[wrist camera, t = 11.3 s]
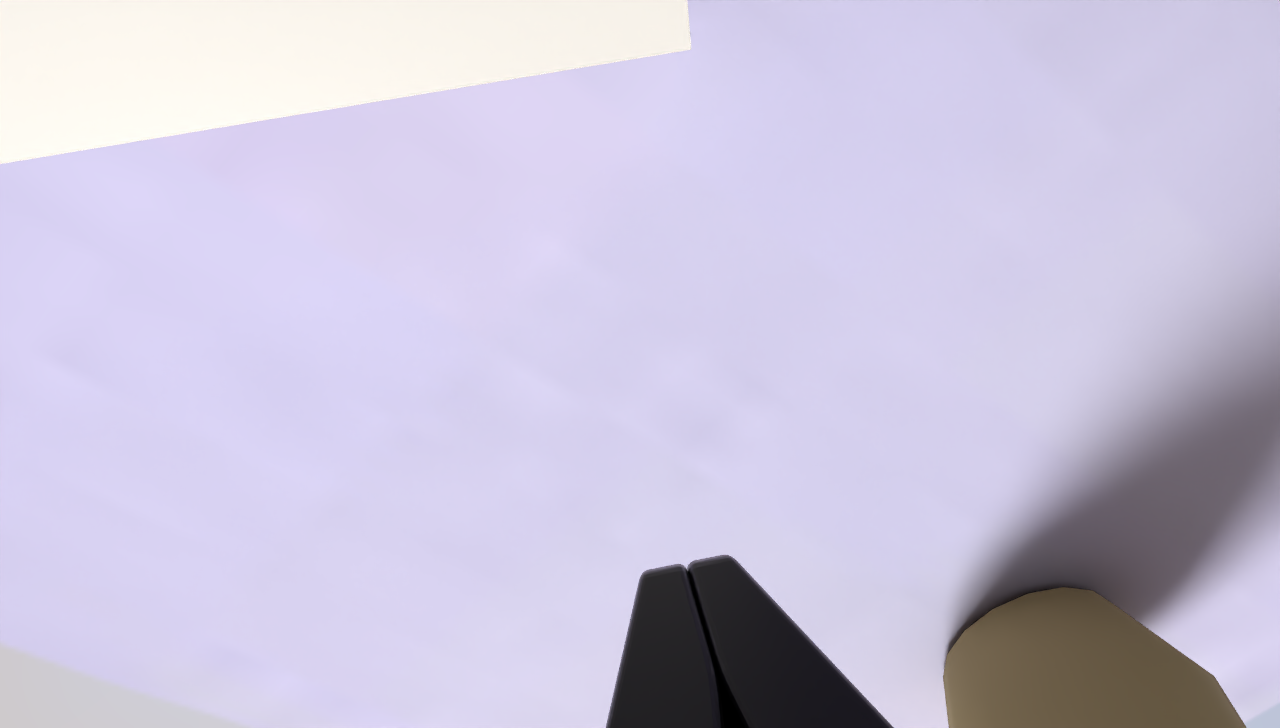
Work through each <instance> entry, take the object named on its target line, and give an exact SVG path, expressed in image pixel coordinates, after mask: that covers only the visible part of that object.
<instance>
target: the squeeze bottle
mask: <svg viewBox="0 0 1280 728" xmlns="http://www.w3.org/2000/svg"><path fill="white" fill-rule="evenodd" d="M943 680H944V689H945V698H946V707H947V715H948V724H949V728H1246V726H1245V725H1244V723H1243V721H1242V720H1241V718H1240V717H1239V715H1238V713H1237V712H1236V710H1235V709H1234V707H1233V705H1232V704H1231V702H1230V701H1229V699H1228V697H1227V696H1226V694H1225V693H1224V691H1223V689H1222V688H1221V686H1220V685H1219V683H1218V681H1217V680H1216V678H1215V677H1214V676H1213V675H1212V674H1210V673H1209V672H1208V671H1206V670H1205V669H1203V668H1202V667H1201V666H1199V665H1198V664H1196V663H1195V662H1194V661H1192V660H1191V659H1189V658H1188V657H1187V656H1185V655H1184V654H1182V653H1181V652H1180V651H1178V650H1177V649H1175V648H1174V647H1173V646H1171V645H1170V644H1168V643H1167V642H1166V641H1164V640H1163V639H1161V638H1160V637H1159V636H1157V635H1156V634H1155V633H1153V632H1152V631H1150V630H1149V629H1148V628H1146V627H1145V626H1143V625H1142V624H1141V623H1139V622H1138V621H1136V620H1135V619H1134V618H1132V617H1131V616H1129V615H1128V614H1127V613H1125V612H1124V611H1122V610H1121V609H1120V608H1118V607H1117V606H1115V605H1114V604H1113V603H1111V602H1110V601H1108V600H1107V599H1105V598H1104V597H1102V596H1100V595H1099V594H1097V593H1096V592H1094V591H1093V590H1084V589H1076V588H1067V587H1061V588H1055V589H1050V590H1044V591H1039V592H1034V593H1028V594H1026V595H1023V596H1021V597H1019V598H1017V599H1014V600H1012V601H1010V602H1008V603H1005V604H1003V605H1001V606H999V607H996V608H994V609H992V610H991V611H989V612H988V613H987V614H986V615H984V616H983V617H982V618H980V619H979V620H978V621H976V622H975V623H974V624H972V625H971V626H970V627H969V628H967V629H966V630H965V631H964V632H963V633H962V635H961V636H960V637H959V639H958V640H957V641H956V643H955V644H954V646H953V647H952V648H951V650H950V651H949V653H948V654H947V657H946V663H945V669H944V675H943Z"/></svg>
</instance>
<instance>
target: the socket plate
mask: <svg viewBox="0 0 1280 728" xmlns="http://www.w3.org/2000/svg"><path fill="white" fill-rule="evenodd" d="M685 50H691V41H690V29H689V16H688V4H687V0H0V164H3V163H9V162H15V161H21V160H27V159H33V158H39V157H45V156H51V155H57V154H63V153H69V152H75V151H81V150H87V149H93V148H99V147H105V146H111V145H118V144H124V143H130V142H136V141H142V140H148V139H154V138H160V137H166V136H172V135H178V134H184V133H190V132H196V131H202V130H208V129H214V128H220V127H226V126H232V125H238V124H244V123H250V122H256V121H262V120H268V119H274V118H280V117H287V116H293V115H299V114H305V113H311V112H317V111H323V110H329V109H335V108H341V107H347V106H353V105H359V104H365V103H371V102H377V101H383V100H389V99H395V98H401V97H407V96H413V95H419V94H425V93H431V92H437V91H443V90H449V89H456V88H462V87H468V86H474V85H480V84H486V83H492V82H498V81H504V80H510V79H516V78H522V77H528V76H534V75H540V74H546V73H552V72H558V71H564V70H570V69H576V68H582V67H588V66H594V65H600V64H606V63H612V62H618V61H625V60H631V59H637V58H643V57H649V56H655V55H661V54H667V53H673V52H679V51H685Z"/></svg>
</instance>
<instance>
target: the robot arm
mask: <svg viewBox="0 0 1280 728" xmlns="http://www.w3.org/2000/svg"><path fill="white" fill-rule="evenodd" d="M606 728H893V727H892V725H891V724H890V723H889V722H888V721H887V720H886V719H885V718H884V717H883V716H882V715H881V714H880V713H879V712H878V711H877V710H876V708H875V707H874V706H873V705H872V704H871V703H870V702H869V701H868V700H867V699H866V698H865V697H864V696H863V695H862V694H861V693H860V691H859V690H858V689H857V688H856V687H855V686H854V685H853V684H852V683H851V682H850V681H849V680H848V679H847V678H846V677H845V675H844V674H843V673H842V672H841V671H840V670H839V669H838V668H837V667H836V666H835V665H834V664H833V663H832V662H831V661H830V660H829V658H828V657H827V656H826V655H825V654H824V653H823V652H822V651H821V650H820V649H819V648H818V647H817V646H816V645H815V644H814V642H813V641H812V640H811V639H810V638H809V637H808V636H807V635H806V634H805V633H804V632H803V631H802V630H801V629H800V628H799V627H798V625H797V624H796V623H795V622H794V621H793V620H792V619H791V618H790V617H789V616H788V615H787V614H786V613H785V612H784V611H783V610H782V608H781V607H780V606H779V605H778V604H777V603H776V602H775V601H774V600H773V599H772V598H771V597H770V596H769V595H768V594H767V592H766V591H765V590H764V589H763V588H762V587H761V586H760V585H759V584H758V583H757V582H756V581H755V580H754V579H753V578H752V577H751V575H750V574H749V573H748V572H747V571H746V570H745V569H744V568H743V567H742V566H741V565H740V564H739V563H738V562H737V561H736V560H735V559H734V558H733V557H731V556H729V555H720V556H715V557H710V558H705V559H700V560H695V561H692V562H691V563H690V564H689V565H688V567H687V569H686V568H685V567H684V566H683V565H681V564H675V565H670V566H665V567H660V568H655V569H650V570H647V571H645V572H643V573H642V575H641V577H640V580H639V584H638V588H637V592H636V597H635V601H634V606H633V610H632V614H631V619H630V623H629V628H628V632H627V637H626V641H625V645H624V650H623V654H622V659H621V663H620V667H619V672H618V676H617V681H616V685H615V689H614V694H613V698H612V703H611V707H610V712H609V716H608V720H607V725H606Z"/></svg>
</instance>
